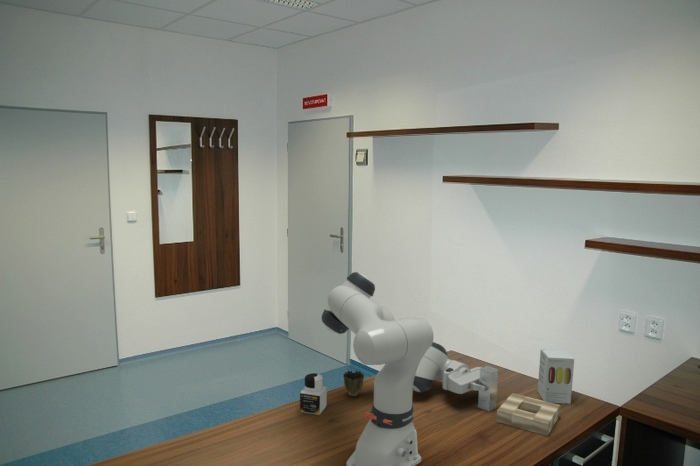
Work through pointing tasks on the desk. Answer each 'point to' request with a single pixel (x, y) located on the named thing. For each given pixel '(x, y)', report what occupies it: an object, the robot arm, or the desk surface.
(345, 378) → the cup
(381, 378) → the robot arm
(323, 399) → the medicine bottle
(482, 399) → the steel peg
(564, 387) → the supplement box
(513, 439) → the desk surface
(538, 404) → the square nut
